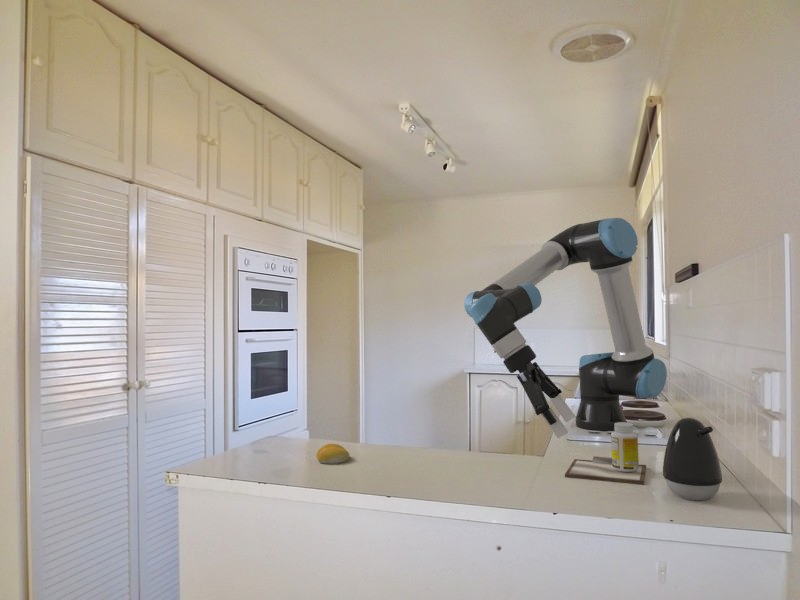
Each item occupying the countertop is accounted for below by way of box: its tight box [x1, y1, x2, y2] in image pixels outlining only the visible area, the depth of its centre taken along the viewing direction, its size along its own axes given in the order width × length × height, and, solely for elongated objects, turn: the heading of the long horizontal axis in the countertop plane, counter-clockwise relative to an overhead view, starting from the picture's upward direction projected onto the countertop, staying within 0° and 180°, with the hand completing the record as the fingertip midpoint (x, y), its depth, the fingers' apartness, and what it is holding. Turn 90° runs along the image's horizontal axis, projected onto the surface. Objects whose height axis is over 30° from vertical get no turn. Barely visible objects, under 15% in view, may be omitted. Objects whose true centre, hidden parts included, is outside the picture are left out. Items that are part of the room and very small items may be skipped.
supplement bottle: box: [610, 421, 640, 472], centre depth 127 cm, size 6×6×10 cm
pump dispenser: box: [662, 417, 723, 502], centre depth 109 cm, size 10×10×15 cm
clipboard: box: [564, 455, 647, 485], centre depth 127 cm, size 14×16×2 cm
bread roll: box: [315, 443, 350, 465], centre depth 145 cm, size 8×9×4 cm
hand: (567, 427), depth 133 cm, fingers open, 13 cm apart
